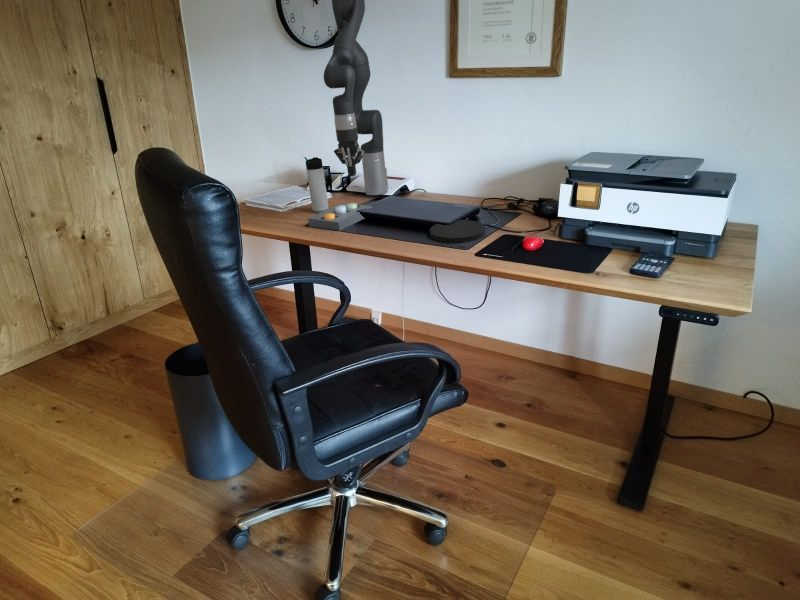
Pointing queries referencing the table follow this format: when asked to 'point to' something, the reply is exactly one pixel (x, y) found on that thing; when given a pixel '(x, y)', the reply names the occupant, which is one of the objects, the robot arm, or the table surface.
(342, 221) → the button panel
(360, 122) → the robot arm
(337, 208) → the blue-grey button
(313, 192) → the travel mug
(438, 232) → the wireless charger
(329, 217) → the orange button
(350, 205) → the sage button
